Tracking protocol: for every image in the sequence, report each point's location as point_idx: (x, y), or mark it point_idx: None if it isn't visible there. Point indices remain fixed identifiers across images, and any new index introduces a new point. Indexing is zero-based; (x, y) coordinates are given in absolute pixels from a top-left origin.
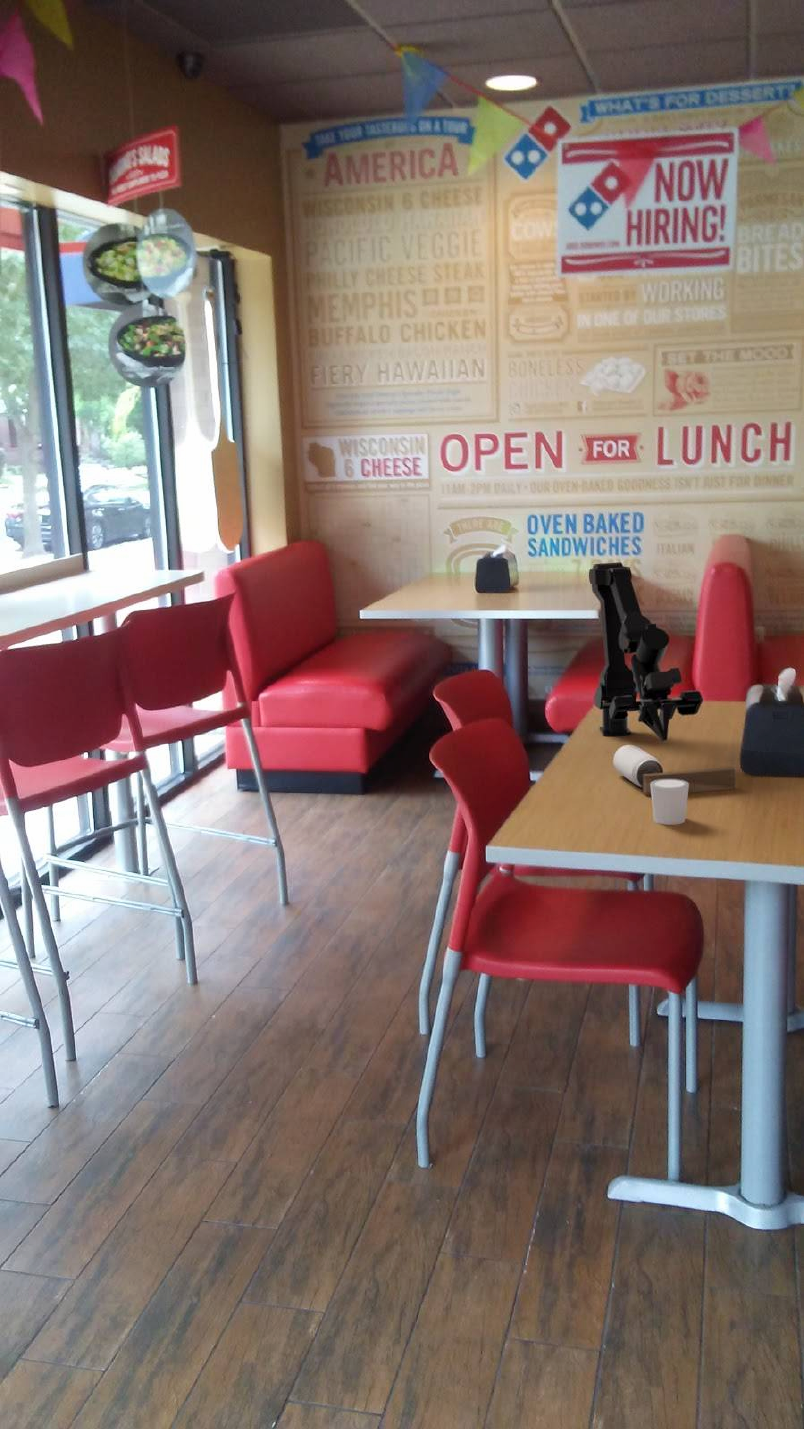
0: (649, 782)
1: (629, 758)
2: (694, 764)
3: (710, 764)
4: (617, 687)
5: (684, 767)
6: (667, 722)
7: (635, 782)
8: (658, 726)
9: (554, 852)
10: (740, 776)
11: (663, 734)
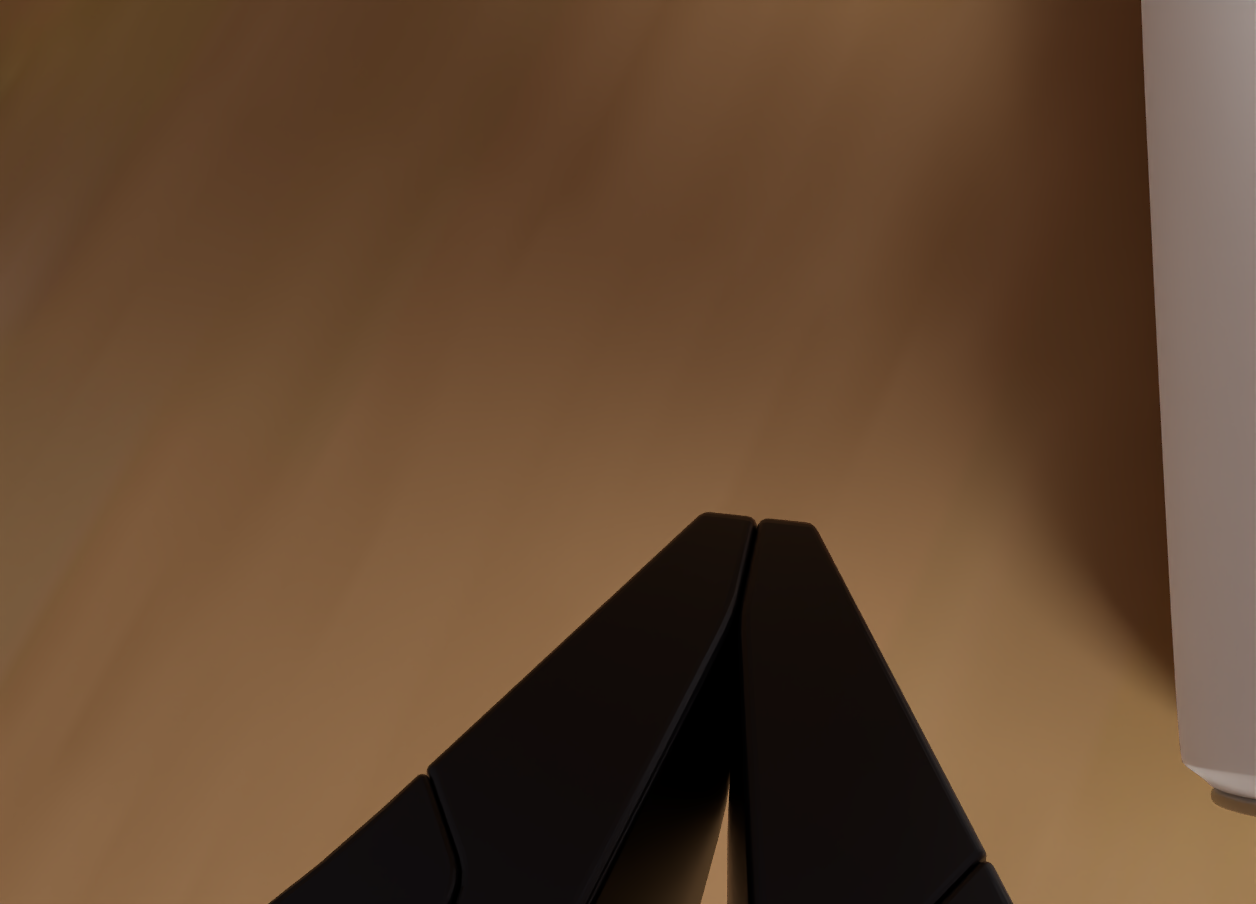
0: None
1: None
2: (187, 867)
3: (9, 765)
4: None
5: (388, 778)
6: (455, 802)
7: None
8: (900, 765)
9: None
10: (20, 121)
11: (783, 569)
